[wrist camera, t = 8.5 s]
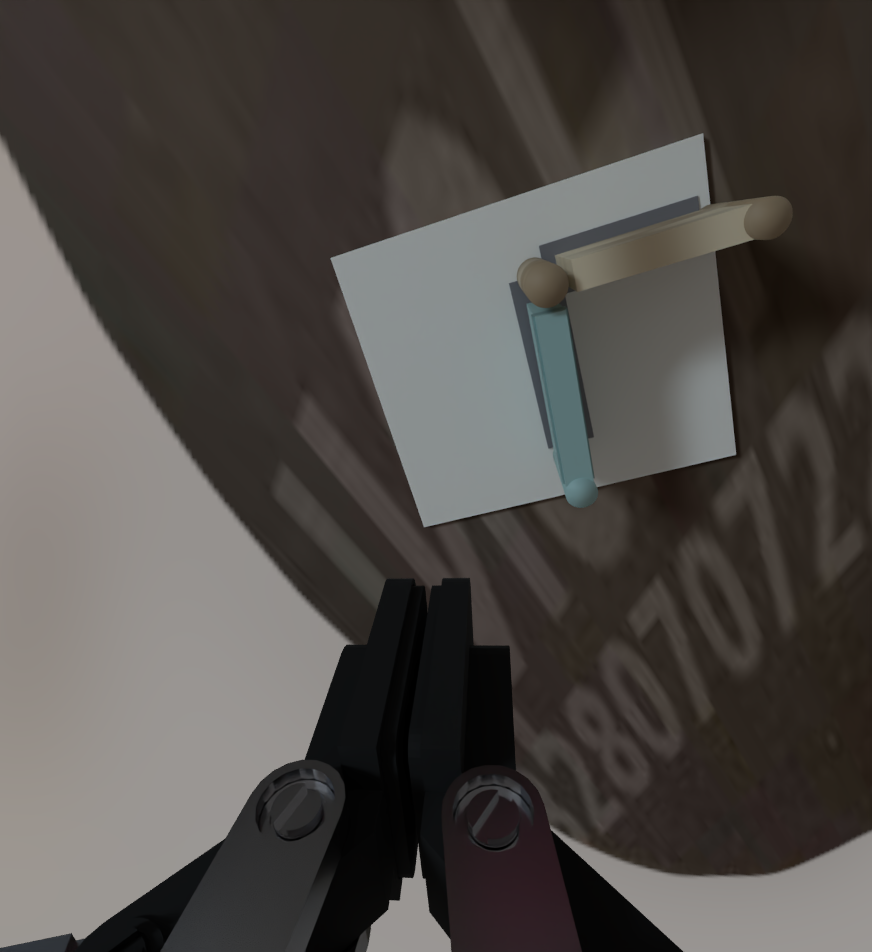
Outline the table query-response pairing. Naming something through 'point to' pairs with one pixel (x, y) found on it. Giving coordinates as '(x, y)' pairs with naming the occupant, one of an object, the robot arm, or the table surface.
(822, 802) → the table surface
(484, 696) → the robot arm
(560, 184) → the card
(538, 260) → the fence fixed
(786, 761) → the table surface
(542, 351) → the fence gate
